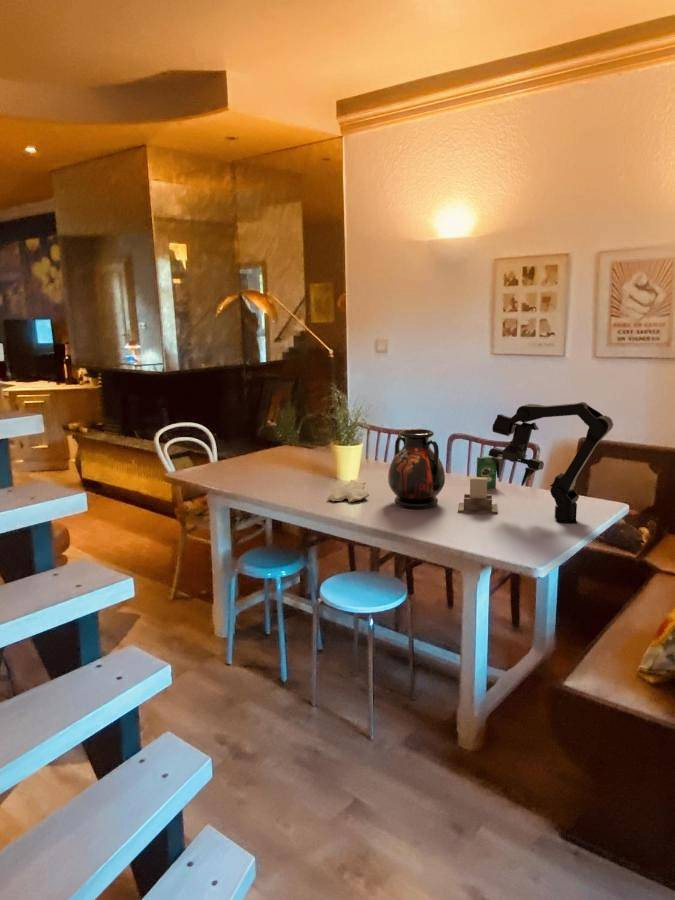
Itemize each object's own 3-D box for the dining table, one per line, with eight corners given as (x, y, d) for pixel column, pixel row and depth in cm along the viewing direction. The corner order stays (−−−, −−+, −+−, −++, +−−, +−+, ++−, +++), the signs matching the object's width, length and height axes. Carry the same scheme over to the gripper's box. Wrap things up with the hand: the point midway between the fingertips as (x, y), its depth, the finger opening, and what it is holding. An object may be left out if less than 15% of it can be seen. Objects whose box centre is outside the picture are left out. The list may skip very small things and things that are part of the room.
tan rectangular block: (486, 506, 246) (487, 477, 244) (486, 508, 243) (487, 479, 241) (469, 505, 247) (470, 476, 245) (469, 508, 244) (470, 478, 242)
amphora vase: (376, 505, 253) (375, 432, 247) (409, 493, 269) (409, 424, 263) (424, 515, 239) (424, 439, 233) (455, 502, 255) (456, 430, 249)
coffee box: (493, 486, 277) (493, 455, 274) (496, 487, 274) (497, 456, 271) (475, 488, 274) (476, 457, 272) (478, 489, 272) (479, 458, 269)
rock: (383, 494, 269) (353, 486, 277) (384, 484, 267) (353, 475, 276) (352, 511, 253) (321, 501, 261) (352, 500, 251) (321, 491, 260)
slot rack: (497, 506, 248) (497, 493, 248) (497, 514, 239) (497, 501, 238) (458, 504, 251) (459, 492, 250) (457, 512, 242) (458, 499, 241)
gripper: (487, 433, 233) (476, 475, 236) (538, 447, 222) (526, 491, 225) (499, 432, 242) (489, 473, 245) (549, 446, 231) (538, 489, 234)
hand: (510, 481), depth 237 cm, fingers open, 9 cm apart
